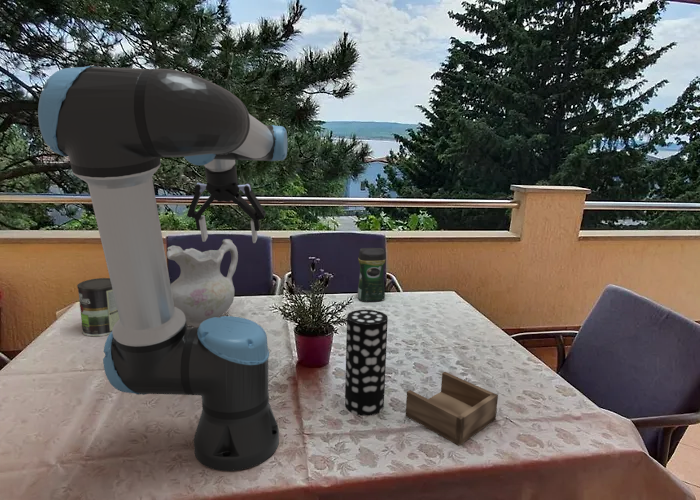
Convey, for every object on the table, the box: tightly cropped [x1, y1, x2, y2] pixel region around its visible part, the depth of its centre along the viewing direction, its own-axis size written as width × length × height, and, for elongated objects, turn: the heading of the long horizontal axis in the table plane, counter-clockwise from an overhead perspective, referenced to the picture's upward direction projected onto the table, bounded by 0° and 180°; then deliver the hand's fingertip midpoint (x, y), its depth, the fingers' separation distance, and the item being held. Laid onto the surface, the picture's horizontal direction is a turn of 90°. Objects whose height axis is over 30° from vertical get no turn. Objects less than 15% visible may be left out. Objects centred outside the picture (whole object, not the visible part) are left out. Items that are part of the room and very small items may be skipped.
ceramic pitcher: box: [166, 238, 239, 328], centre depth 143 cm, size 22×20×25 cm
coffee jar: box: [357, 247, 386, 302], centre depth 167 cm, size 10×8×19 cm
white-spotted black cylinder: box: [344, 309, 389, 417], centre depth 99 cm, size 8×8×20 cm
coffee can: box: [76, 277, 119, 338], centre depth 135 cm, size 10×10×14 cm
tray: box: [405, 371, 499, 446], centre depth 96 cm, size 13×13×6 cm
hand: (230, 239), depth 128 cm, fingers open, 13 cm apart
